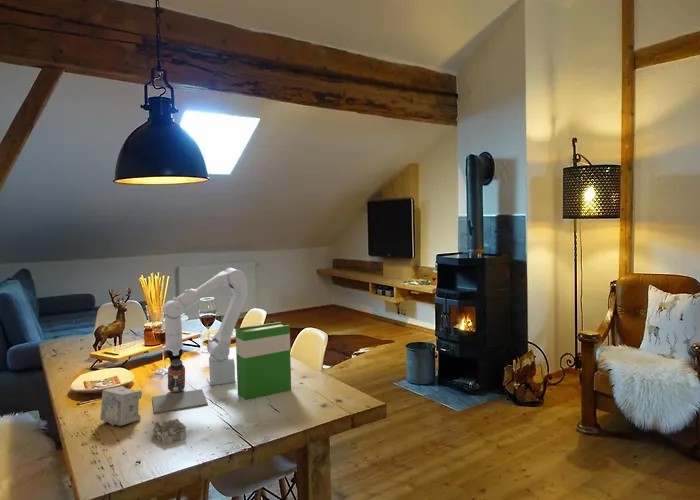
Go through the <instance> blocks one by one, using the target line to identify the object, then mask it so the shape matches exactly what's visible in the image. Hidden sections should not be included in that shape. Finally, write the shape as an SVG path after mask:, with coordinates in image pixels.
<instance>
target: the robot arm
mask: <svg viewBox="0 0 700 500" xmlns="http://www.w3.org/2000/svg"><path fill="white" fill-rule="evenodd" d="M247 282H248V278H247V276H246V274H245V273H244V272H243V271H242V270H241V269H236V268H233V267H228V268H225V270H223V271H220V272H218V273H217V274H216V275H214V276H212V277H211V278H210V279H208V280H207V281H206V282H204V283H202V284H201V285H200V286H198V287H197V288H189V289H187V288H186V289H184V292H183V293H181V294H179V295H178V296H177V297H176V296H174V297H173V298H172V300H168V301H166V302H165V303H164V305H163V308H162V312H163V313H164V320H165V321H164V330H165V331H164V333H165V345H163V346H162V349H163V350H166V351H165V353H166V356H167V357H168V359H169V364H171V361H173V360H175V359H179V360H181V358H182V355H183V353H184V351H183V347H184V344H183V331H182V330H183V329H182V324H183V323H182V315H183V312H184V311H186V310H188V309H189V308H191V307H193V306H194V305H196V304H198V303H199V302H200V300H201V297H202V296H204V295H206V294H208V293H209V292H210V291H211V292H212V291H213V290H214V289H216V288H218V287H221V286H229V288H230V290H231V292H232V296H231V299H230V301H229V304H228V306H227V309H226V311H225V314H224V316H223V319H222V321H221V323H220V327H219V328H218V331H217V332H216V333H215V334H214V336H213V337H212V339H211V340H210V341H209V342H208V344H207V348H206V349H207V352H208V353H209V354H210V355H209V357H208V367H209V368H208V369H209V371H208V372H209V377H208V378H207V381H208V384H209V386H217V385H224V384H229V383H237V379H236V368H235V367H236V366H235V365H236V364H235V359H234V357H233V356H229V355H230V346H231V344H232V340H231V338H232V337H231V336H232V335H233V332H234V330H235V327H236V325H237V322H238V321H239V318H240V315H241V312H242V310H243V307H244V305H245V303H246V300H247V298H248V296H249V295H248V294H249V291H248V284H247Z"/></svg>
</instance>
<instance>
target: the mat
mask: <svg viewBox="0 0 700 500" xmlns="http://www.w3.org/2000/svg"><path fill="white" fill-rule="evenodd" d="M151 399H152V400H151V401H152V408H153V414H154V415H157V414H163V413H169V412H175V411H181V410H187V409H192V408H199V407H204V406H209V403H208V401H207V398H206V396H205V393H204V390H203V389H202V388H201V389H194V390H188V391H180V392H172V393H168V394H162V395H154V396H152V398H151Z"/></svg>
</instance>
